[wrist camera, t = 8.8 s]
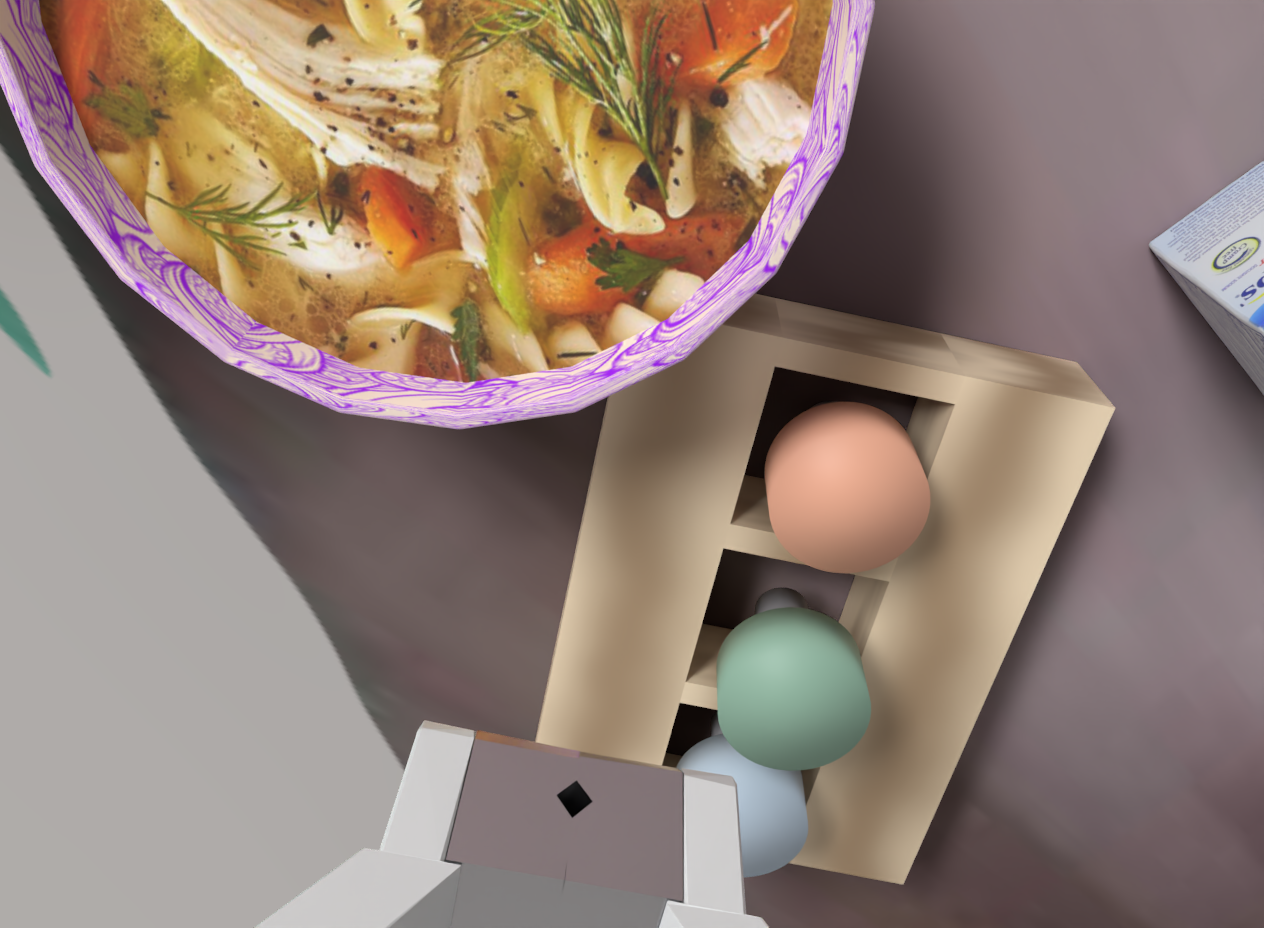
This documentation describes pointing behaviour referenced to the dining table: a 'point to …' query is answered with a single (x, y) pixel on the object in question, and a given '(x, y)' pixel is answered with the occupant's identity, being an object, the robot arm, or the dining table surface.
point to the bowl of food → (439, 179)
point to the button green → (791, 686)
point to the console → (739, 520)
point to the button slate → (757, 802)
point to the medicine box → (1225, 266)
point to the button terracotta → (845, 487)
